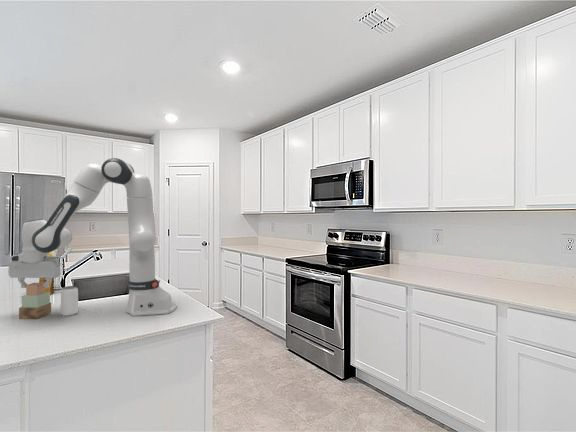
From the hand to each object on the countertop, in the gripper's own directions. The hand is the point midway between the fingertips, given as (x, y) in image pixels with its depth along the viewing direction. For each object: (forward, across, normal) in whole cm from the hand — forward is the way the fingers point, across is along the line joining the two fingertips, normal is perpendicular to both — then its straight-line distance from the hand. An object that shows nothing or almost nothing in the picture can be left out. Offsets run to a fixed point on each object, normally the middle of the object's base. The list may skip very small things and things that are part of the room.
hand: (35, 287), depth 144 cm
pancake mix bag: (+13, +22, -40) cm, 47 cm away
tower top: (+8, 0, 0) cm, 8 cm away
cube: (+3, 0, 0) cm, 3 cm away
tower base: (+13, 0, 0) cm, 13 cm away
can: (+13, -13, -3) cm, 18 cm away
